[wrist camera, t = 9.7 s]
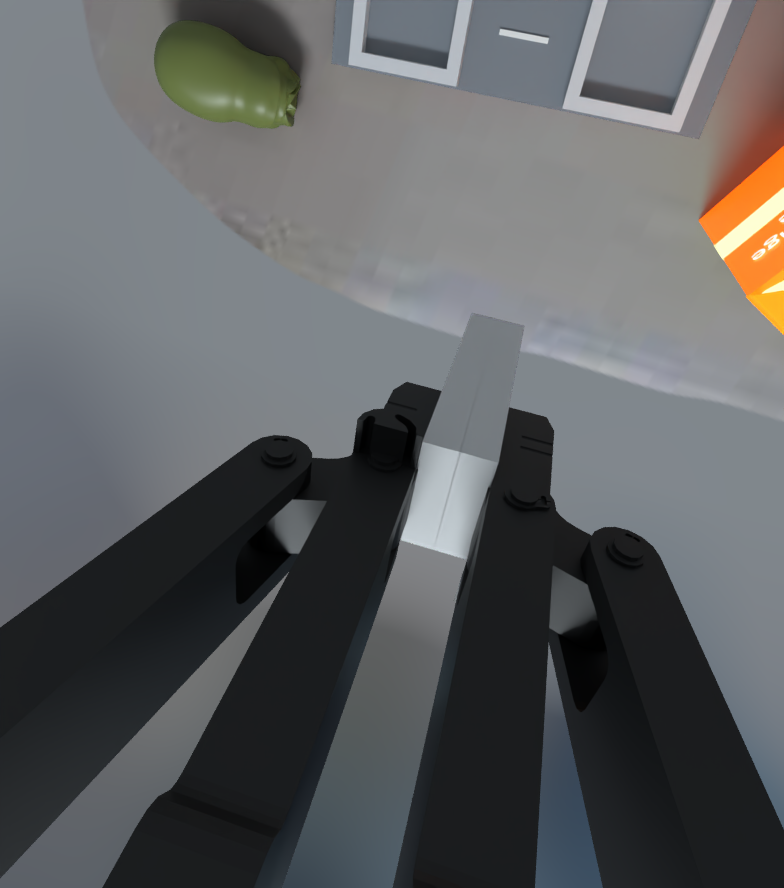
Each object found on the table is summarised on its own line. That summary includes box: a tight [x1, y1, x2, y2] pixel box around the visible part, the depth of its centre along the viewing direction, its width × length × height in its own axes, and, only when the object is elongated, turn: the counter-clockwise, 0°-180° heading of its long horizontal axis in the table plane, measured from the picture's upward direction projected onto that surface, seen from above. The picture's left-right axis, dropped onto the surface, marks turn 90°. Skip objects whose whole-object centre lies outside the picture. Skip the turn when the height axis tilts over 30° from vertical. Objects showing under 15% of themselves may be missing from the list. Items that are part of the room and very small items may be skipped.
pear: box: [154, 20, 301, 129], centre depth 41 cm, size 6×5×10 cm
